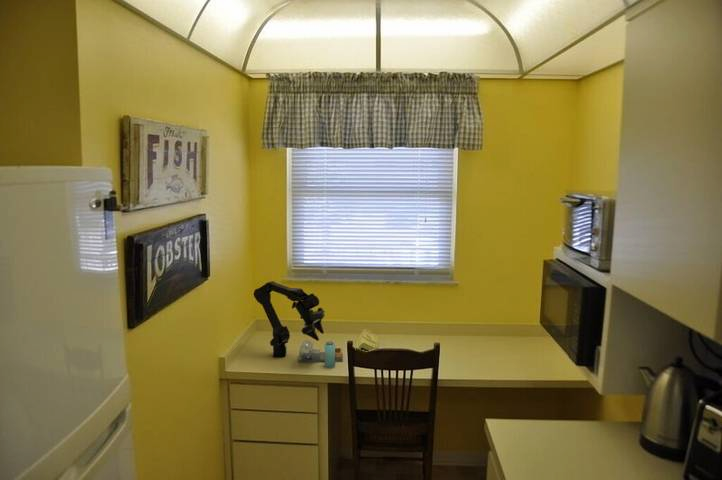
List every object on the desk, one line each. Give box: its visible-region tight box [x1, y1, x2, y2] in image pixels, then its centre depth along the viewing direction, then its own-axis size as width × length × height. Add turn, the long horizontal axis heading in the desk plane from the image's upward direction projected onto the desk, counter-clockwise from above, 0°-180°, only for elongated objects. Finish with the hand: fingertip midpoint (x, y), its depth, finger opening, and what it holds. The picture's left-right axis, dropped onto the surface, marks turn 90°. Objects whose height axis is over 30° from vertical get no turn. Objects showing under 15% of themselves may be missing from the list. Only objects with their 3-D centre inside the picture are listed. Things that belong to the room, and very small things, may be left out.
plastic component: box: [355, 328, 379, 351], centre depth 292 cm, size 20×7×10 cm
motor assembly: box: [297, 339, 344, 363], centre depth 272 cm, size 23×11×8 cm, turn 92°
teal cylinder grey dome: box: [324, 340, 336, 369], centre depth 261 cm, size 5×5×12 cm
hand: (320, 336), depth 266 cm, fingers open, 9 cm apart
